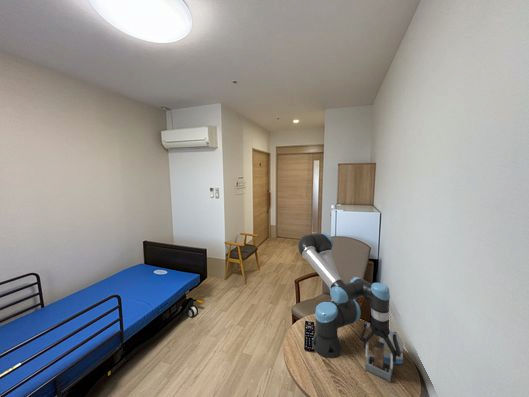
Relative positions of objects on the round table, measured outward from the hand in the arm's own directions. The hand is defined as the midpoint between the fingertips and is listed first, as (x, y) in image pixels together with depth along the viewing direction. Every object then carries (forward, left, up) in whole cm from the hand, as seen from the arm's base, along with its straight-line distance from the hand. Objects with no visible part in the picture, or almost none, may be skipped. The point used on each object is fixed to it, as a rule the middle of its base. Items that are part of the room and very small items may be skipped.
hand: (379, 360), depth 101 cm
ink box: (+3, +13, -5) cm, 14 cm away
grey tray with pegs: (0, 0, -5) cm, 5 cm away
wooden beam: (0, 0, -4) cm, 4 cm away
